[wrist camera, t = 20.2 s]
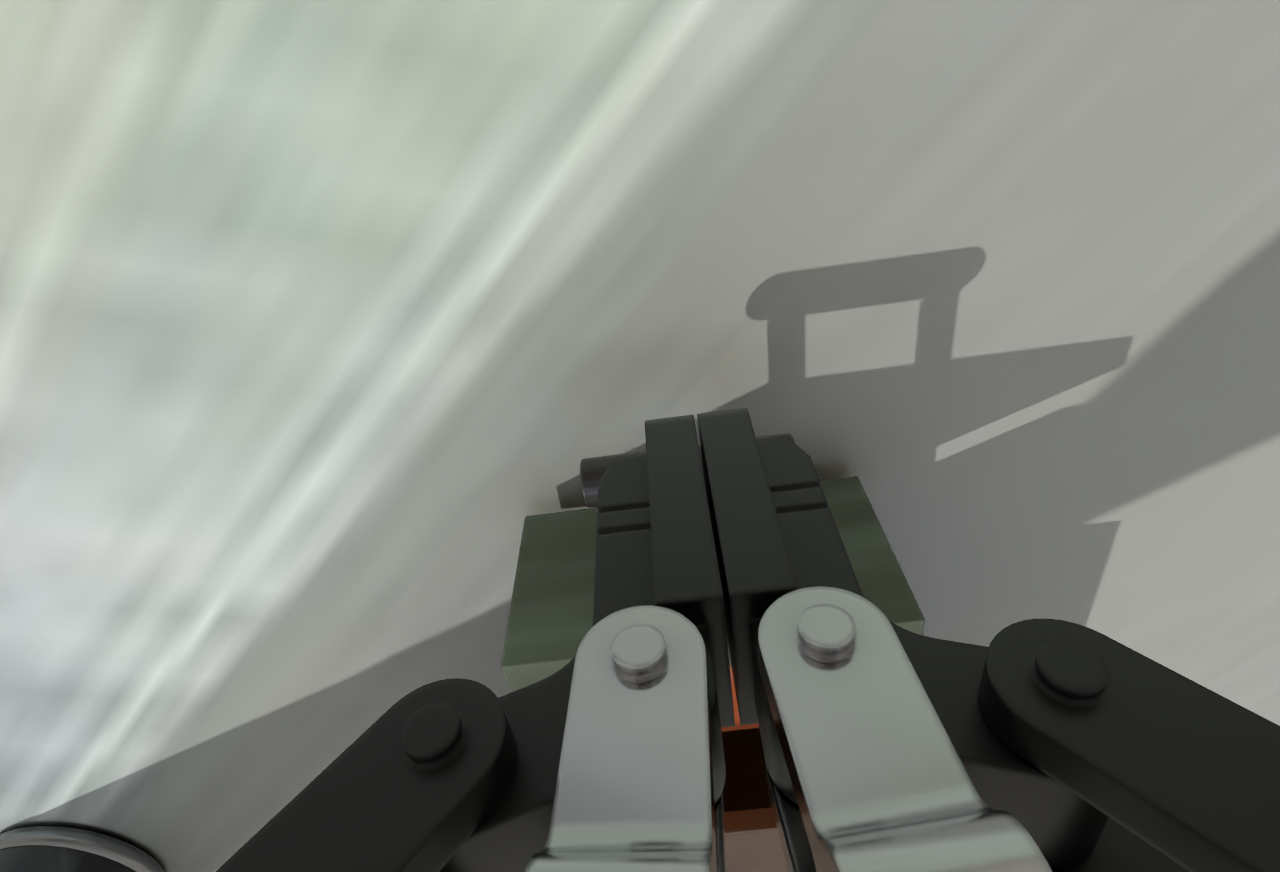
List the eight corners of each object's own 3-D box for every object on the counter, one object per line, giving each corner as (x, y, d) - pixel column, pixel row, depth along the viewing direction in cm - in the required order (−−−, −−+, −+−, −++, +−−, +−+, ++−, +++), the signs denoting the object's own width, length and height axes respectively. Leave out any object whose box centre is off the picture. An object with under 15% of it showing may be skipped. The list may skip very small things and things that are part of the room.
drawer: (490, 399, 23) (451, 538, 18) (864, 351, 23) (946, 479, 17) (590, 739, 34) (585, 892, 29) (845, 712, 34) (891, 863, 28)
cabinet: (557, 653, 32) (541, 851, 25) (857, 620, 31) (927, 813, 24) (610, 827, 41) (609, 1010, 34) (845, 804, 40) (895, 986, 33)
